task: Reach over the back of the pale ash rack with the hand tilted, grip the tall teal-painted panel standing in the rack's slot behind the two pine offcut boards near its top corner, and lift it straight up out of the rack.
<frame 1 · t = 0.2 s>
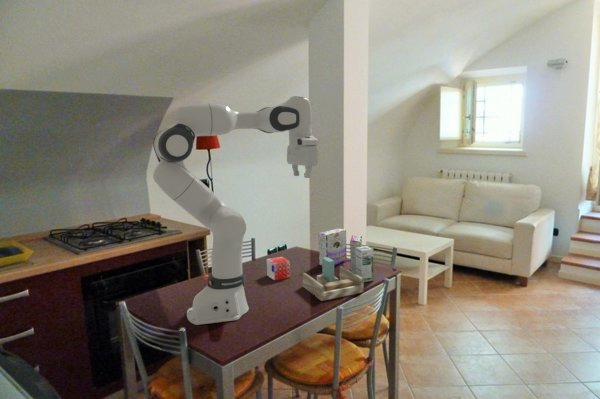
hand: (301, 176, 162), 48 cm above the table, tool pointing down, fingers open, 8 cm apart
upper offcut: (337, 288, 171), point 2 cm above the table, touching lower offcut
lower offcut: (337, 294, 171), on the table, touching upper offcut
red white patterned cube: (278, 276, 193), on the table
ash rack: (330, 288, 177), on the table
teal panel: (328, 286, 178), on the table
candy bar box: (356, 272, 196), on the table
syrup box: (364, 280, 186), on the table
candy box: (332, 263, 210), on the table
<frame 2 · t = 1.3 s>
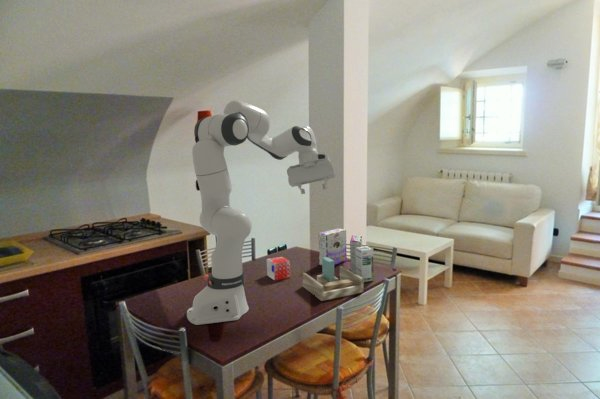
hand: (314, 191, 177), 40 cm above the table, tool tilted 30°, fingers open, 8 cm apart
nothing on the table moved.
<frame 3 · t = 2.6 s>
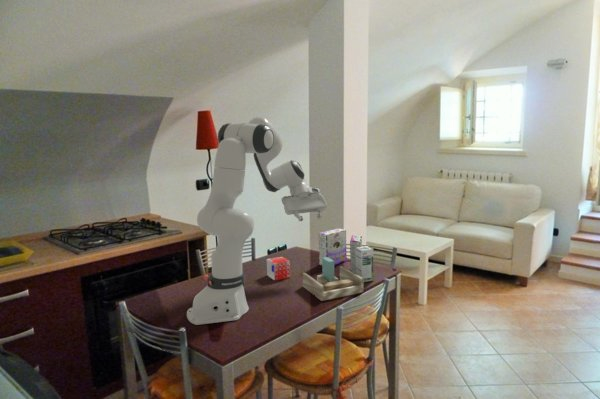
hand: (310, 219, 189), 26 cm above the table, tool tilted 45°, fingers open, 8 cm apart
upper offcut: (337, 288, 171), point 2 cm above the table
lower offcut: (337, 294, 171), on the table
everything else where it was.
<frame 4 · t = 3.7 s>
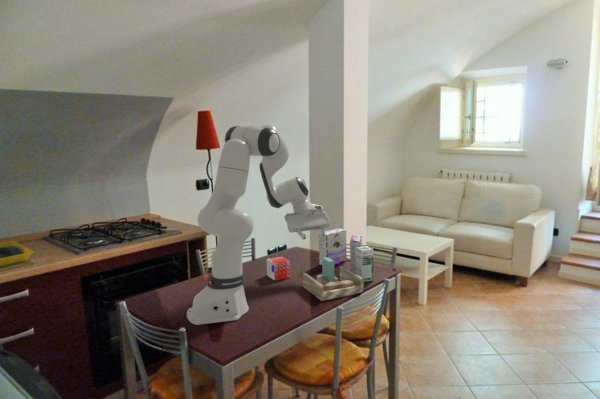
hand: (314, 237, 187), 19 cm above the table, tool tilted 45°, fingers open, 8 cm apart
upper offcut: (337, 288, 171), point 2 cm above the table, touching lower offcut
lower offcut: (338, 294, 171), on the table, touching upper offcut
everything else where it was.
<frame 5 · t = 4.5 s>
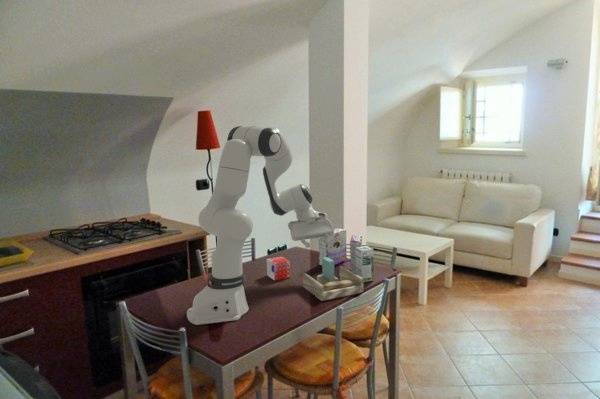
hand: (317, 245, 184), 16 cm above the table, tool tilted 45°, fingers open, 8 cm apart
nothing on the table moved.
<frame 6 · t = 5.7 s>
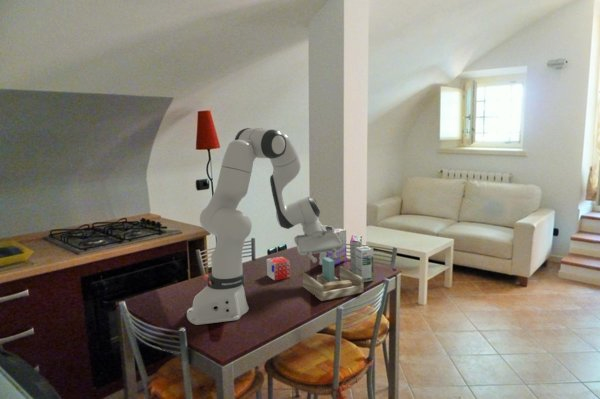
hand: (325, 260, 179), 11 cm above the table, tool tilted 45°, fingers open, 8 cm apart
nothing on the table moved.
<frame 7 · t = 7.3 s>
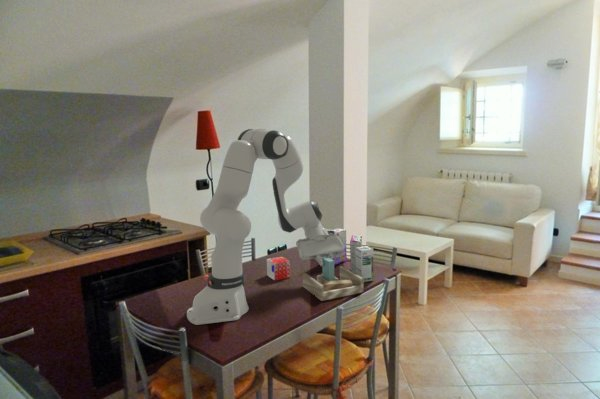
hand: (327, 264, 178), 9 cm above the table, tool tilted 45°, fingers closed on teal panel, 2 cm apart
teal panel: (328, 286, 178), on the table, touching gripper
everything else where it was.
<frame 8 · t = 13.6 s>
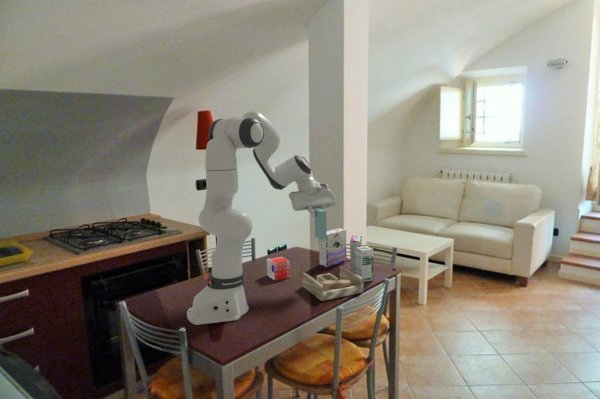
hand: (319, 215, 180), 29 cm above the table, tool tilted 45°, fingers closed on teal panel, 2 cm apart
teal panel: (320, 237, 181), point 20 cm above the table, touching gripper
at the end: teal panel point 19.9 cm above the table; the gripper is holding teal panel; upper offcut moved 1.5 cm from its start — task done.
